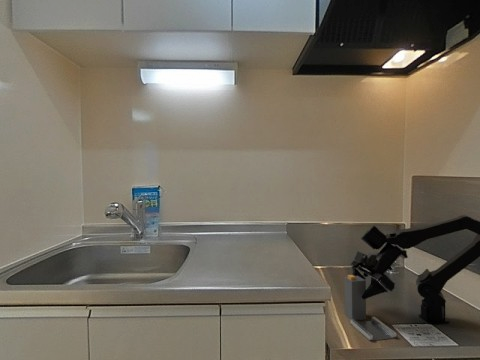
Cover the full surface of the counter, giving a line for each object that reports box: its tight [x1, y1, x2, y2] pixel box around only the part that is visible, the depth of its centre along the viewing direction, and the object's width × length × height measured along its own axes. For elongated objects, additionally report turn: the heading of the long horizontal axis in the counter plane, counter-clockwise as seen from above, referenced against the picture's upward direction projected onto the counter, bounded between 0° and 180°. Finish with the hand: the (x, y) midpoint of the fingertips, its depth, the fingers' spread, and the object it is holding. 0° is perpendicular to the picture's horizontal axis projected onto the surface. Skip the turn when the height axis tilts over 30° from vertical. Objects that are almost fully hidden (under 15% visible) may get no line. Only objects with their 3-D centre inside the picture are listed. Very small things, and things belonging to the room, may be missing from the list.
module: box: [343, 274, 367, 321], centre depth 109 cm, size 5×5×14 cm
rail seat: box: [349, 316, 397, 342], centre depth 100 cm, size 8×11×2 cm
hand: (355, 293), depth 110 cm, fingers open, 9 cm apart
